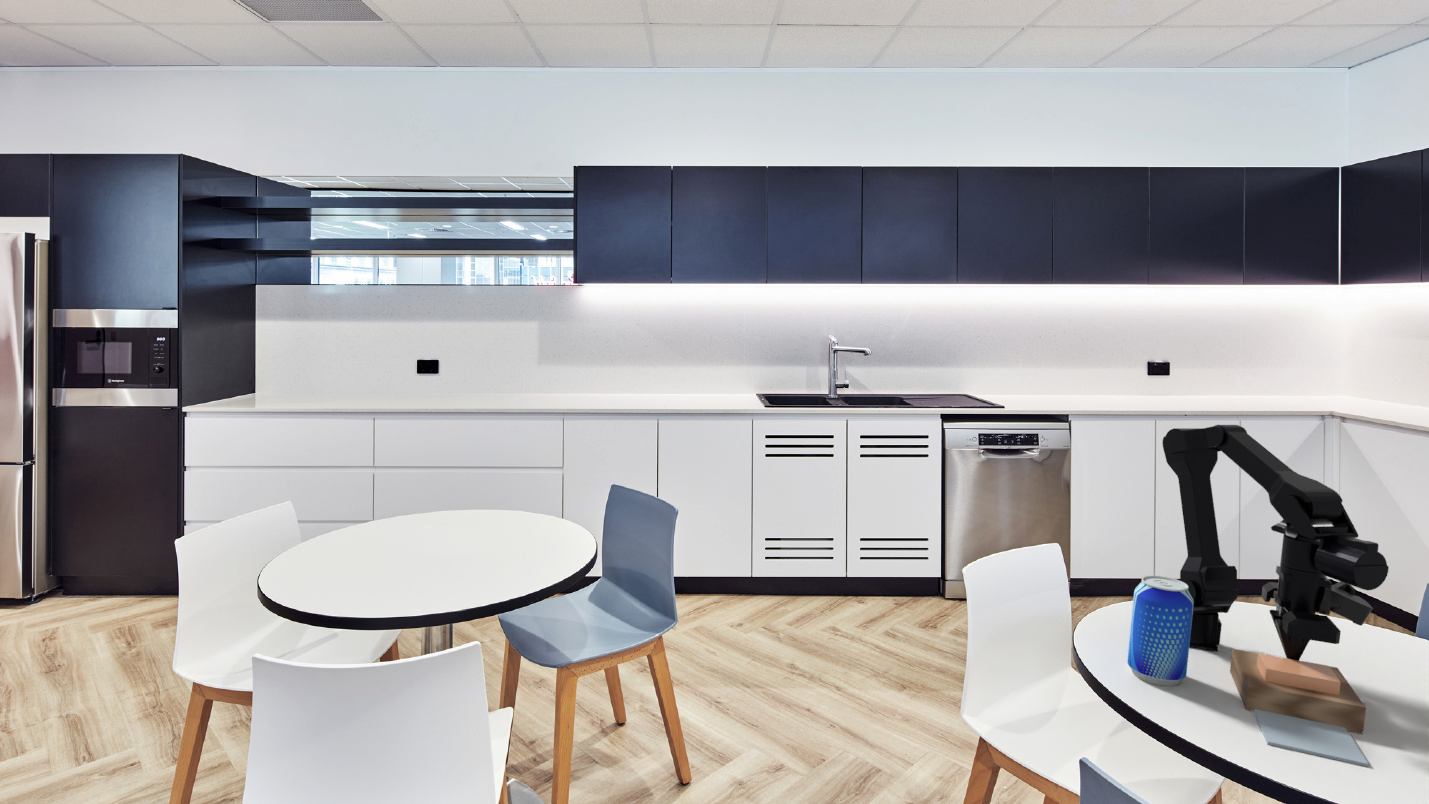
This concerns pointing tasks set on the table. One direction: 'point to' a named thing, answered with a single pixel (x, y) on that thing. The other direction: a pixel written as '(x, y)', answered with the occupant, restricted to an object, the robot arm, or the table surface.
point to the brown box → (1296, 696)
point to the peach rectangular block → (1298, 674)
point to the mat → (1309, 737)
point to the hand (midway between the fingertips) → (1292, 662)
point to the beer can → (1160, 630)
